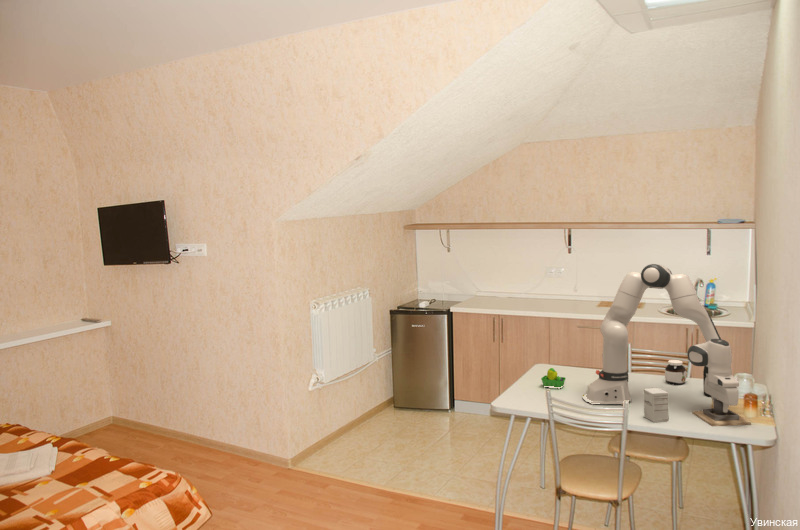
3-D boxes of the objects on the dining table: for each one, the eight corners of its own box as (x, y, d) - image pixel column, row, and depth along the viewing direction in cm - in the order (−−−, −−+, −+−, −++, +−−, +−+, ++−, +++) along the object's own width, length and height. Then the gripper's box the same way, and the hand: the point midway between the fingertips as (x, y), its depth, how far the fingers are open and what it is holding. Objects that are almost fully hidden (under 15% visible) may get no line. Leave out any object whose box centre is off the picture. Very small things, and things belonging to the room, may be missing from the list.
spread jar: (674, 386, 287) (674, 364, 287) (657, 381, 298) (656, 360, 297) (691, 383, 292) (691, 361, 292) (673, 378, 303) (672, 357, 302)
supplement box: (643, 416, 245) (643, 388, 244) (659, 415, 246) (659, 387, 245) (652, 422, 238) (652, 393, 237) (669, 421, 238) (668, 392, 238)
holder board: (711, 426, 230) (711, 419, 230) (692, 413, 246) (692, 406, 246) (751, 424, 230) (750, 417, 230) (728, 412, 246) (728, 405, 246)
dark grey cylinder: (717, 415, 236) (717, 403, 235) (711, 411, 241) (710, 400, 241) (730, 414, 236) (730, 403, 235) (723, 410, 241) (723, 399, 240)
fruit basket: (566, 386, 296) (565, 365, 295) (561, 391, 289) (560, 369, 288) (545, 384, 302) (544, 364, 301) (540, 388, 295) (539, 367, 294)
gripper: (699, 371, 248) (700, 402, 249) (725, 384, 227) (726, 417, 228) (714, 371, 248) (714, 401, 248) (741, 383, 227) (741, 417, 228)
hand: (720, 409), depth 238 cm, fingers closed on dark grey cylinder, 5 cm apart
